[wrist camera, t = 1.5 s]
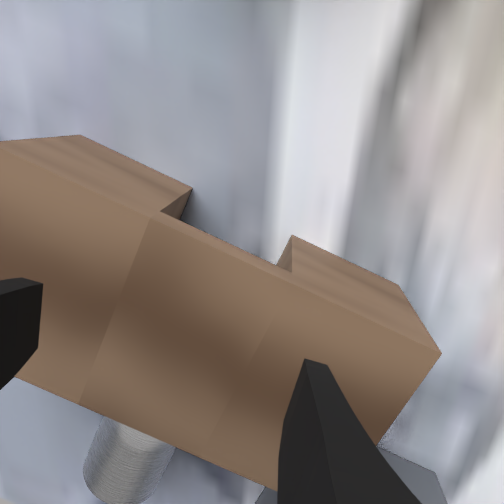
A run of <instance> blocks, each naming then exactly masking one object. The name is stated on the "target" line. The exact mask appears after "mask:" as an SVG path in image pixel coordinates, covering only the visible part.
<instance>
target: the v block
mask: <svg viewBox="0 0 504 504" xmlns="http://www.w3.org/2000/svg"><path fill="white" fill-rule="evenodd" d="M377 448H378V450H379V451H380V453H381V454H382V455H383V457H384V458H385V459H386V461H387V462H388V463H389V465H390V466H391V467H392V469H393V470H394V471H395V472H396V473H397V475H398V476H399V477H400V478H401V480H402V481H403V482H404V483H405V485H406V486H407V487H408V488H409V489H410V491H411V492H412V493H413V494H414V495H415V496H416V497H417V499H418V500H419V501H420V502H421V503H422V504H447V501H446V499H445V496H444V494H443V491H442V489H441V486H440V484H439V481H438V479H437V476H436V474H435V473H434V472H432V471H430V470H428V469H425V468H423V467H421V466H419V465H417V464H414V463H412V462H410V461H408V460H405V459H403V458H401V457H399V456H396V455H394V454H392V453H390V452H388V451H385V450H383V449H381V448H379V447H377ZM255 504H277V491H275V490H272V489H270V488H268V487H265V489H264V490H263V492H262V493H261V495H260V497H259V498H258V500H257V501H256V503H255Z"/></svg>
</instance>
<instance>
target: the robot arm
mask: <svg viewBox="0 0 504 504" xmlns="http://www.w3.org/2000/svg"><path fill="white" fill-rule="evenodd" d="M42 295H43V283H40V282H37V281H33V280H30V279H26V278H23V277H21V278H11V279H5V280H0V390H1V389H2V388H3V387H4V386H5V385H6V384H7V383H8V382H9V381H10V380H11V379H12V378H13V377H14V376H15V375H16V374H17V373H18V372H19V371H20V369H21V368H22V367H23V366H24V365H25V364H26V362H27V361H28V360H29V359H30V357H31V356H32V355H33V354H34V352H35V351H36V350H37V349H38V343H39V331H40V319H41V307H42ZM277 504H422V503H421V502H420V501H419V500H418V499H417V497H416V496H415V495H414V494H413V493H412V492H411V491H410V489H409V488H408V487H407V486H406V485H405V483H404V482H403V481H402V480H401V478H400V477H399V476H398V475H397V473H396V472H395V471H394V470H393V469H392V467H391V466H390V465H389V463H388V462H387V461H386V459H385V458H384V457H383V455H382V454H381V453H380V451H379V450H378V448H377V447H376V445H375V444H374V443H373V441H372V440H371V438H370V437H369V435H368V434H367V432H366V431H365V429H364V428H363V426H362V425H361V423H360V422H359V420H358V418H357V417H356V415H355V413H354V412H353V410H352V408H351V407H350V405H349V403H348V402H347V400H346V398H345V396H344V394H343V393H342V391H341V389H340V387H339V385H338V383H337V382H336V380H335V378H334V376H333V374H332V372H331V371H330V369H329V367H328V365H326V364H323V363H319V362H316V361H312V360H309V359H305V358H304V361H303V364H302V367H301V370H300V373H299V376H298V379H297V382H296V385H295V388H294V391H293V394H292V397H291V400H290V403H289V406H288V409H287V412H286V415H285V418H284V421H283V428H282V434H281V441H280V449H279V456H278V490H277Z"/></svg>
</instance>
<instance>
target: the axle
mask: <svg viewBox="0 0 504 504" xmlns="http://www.w3.org/2000/svg"><path fill="white" fill-rule="evenodd" d="M175 450H176V447H174V446H172V445H170V444H167V443H165V442H163V441H160V440H158V439H156V438H154V437H151V436H149V435H147V434H144V433H142V432H140V431H138V430H135V429H133V428H131V427H128V426H126V425H124V424H122V423H119V422H117V421H115V420H112V419H110V418H108V417H106V416H103V418H102V421H101V423H100V425H99V428H98V430H97V432H96V435H95V437H94V440H93V442H92V444H91V447H90V449H89V452H88V454H87V456H86V459H85V462H84V466H83V474H84V479H85V482H86V484H87V486H88V488H89V489H90V491H91V492H92V493H93V494H94V495H95V496H96V497H97V498H99V499H100V500H102V501H104V502H106V503H108V504H139V503H141V502H143V501H145V500H146V499H147V498H149V497H150V496H151V495H152V493H153V492H154V490H155V489H156V487H157V485H158V483H159V481H160V479H161V477H162V475H163V473H164V471H165V469H166V467H167V465H168V463H169V461H170V459H171V457H172V456H173V454H174V452H175Z"/></svg>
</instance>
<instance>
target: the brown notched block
mask: <svg viewBox="0 0 504 504" xmlns="http://www.w3.org/2000/svg"><path fill="white" fill-rule="evenodd" d="M191 190H192V187H190V186H188V185H185V184H183V183H181V182H179V181H177V180H175V179H173V178H171V177H168V176H166V175H164V174H162V173H160V172H158V171H156V170H154V169H152V168H149V167H147V166H145V165H143V164H141V163H139V162H137V161H135V160H132V159H130V158H128V157H126V156H124V155H122V154H120V153H118V152H115V151H113V150H111V149H109V148H107V147H105V146H103V145H101V144H99V143H96V142H94V141H92V140H90V139H88V138H86V137H84V136H82V135H72V136H60V137H48V138H35V139H23V140H11V141H0V280H5V279H11V278H21V277H23V278H26V279H30V280H33V281H37V282H40V283H43V295H42V307H41V319H40V331H39V343H38V349H37V350H36V351H35V352H34V354H33V355H32V356H31V357H30V359H29V360H28V361H27V362H26V364H25V365H24V366H23V367H22V368H21V369H20V371H19V372H18V373H17V374H16V375H15V376H14V377H16V378H19V379H21V380H23V381H26V382H28V383H30V384H32V385H35V386H37V387H39V388H42V389H44V390H46V391H48V392H51V393H53V394H55V395H58V396H60V397H62V398H64V399H67V400H69V401H71V402H74V403H76V404H78V405H80V406H83V407H85V408H87V409H90V410H92V411H94V412H96V413H99V414H101V415H103V416H106V417H108V418H110V419H112V420H115V421H117V422H119V423H122V424H124V425H126V426H128V427H131V428H133V429H135V430H138V431H140V432H142V433H144V434H147V435H149V436H151V437H154V438H156V439H158V440H160V441H163V442H165V443H167V444H170V445H172V446H174V447H176V448H179V449H181V450H183V451H186V452H188V453H190V454H192V455H195V456H197V457H199V458H202V459H204V460H206V461H208V462H211V463H213V464H215V465H218V466H220V467H222V468H224V469H227V470H229V471H231V472H234V473H236V474H238V475H240V476H243V477H245V478H247V479H250V480H252V481H254V482H256V483H259V484H261V485H263V486H266V487H268V488H270V489H272V490H275V491H277V490H278V456H279V449H280V441H281V434H282V428H283V421H284V418H285V415H286V412H287V409H288V406H289V403H290V400H291V397H292V394H293V391H294V388H295V385H296V382H297V379H298V376H299V373H300V370H301V367H302V364H303V361H304V358H305V359H309V360H312V361H316V362H319V363H323V364H326V365H328V367H329V369H330V371H331V372H332V374H333V376H334V378H335V380H336V382H337V383H338V385H339V387H340V389H341V391H342V393H343V394H344V396H345V398H346V400H347V402H348V403H349V405H350V407H351V408H352V410H353V412H354V413H355V415H356V417H357V418H358V420H359V422H360V423H361V425H362V426H363V428H364V429H365V431H366V432H367V434H368V435H369V437H370V438H371V440H372V441H373V443H374V444H375V445H377V444H378V442H379V441H380V440H381V438H382V437H383V435H384V434H385V433H386V431H387V430H388V428H389V427H390V426H391V424H392V423H393V421H394V420H395V419H396V417H397V416H398V414H399V413H400V412H401V410H402V409H403V407H404V406H405V405H406V403H407V402H408V400H409V399H410V398H411V396H412V395H413V393H414V392H415V391H416V389H417V388H418V386H419V385H420V384H421V382H422V381H423V379H424V378H425V377H426V375H427V374H428V372H429V371H430V370H431V368H432V367H433V365H434V364H435V363H436V361H437V360H438V359H439V357H440V356H441V354H442V353H441V351H440V350H439V348H438V347H437V345H436V343H435V342H434V340H433V339H432V337H431V336H430V334H429V332H428V331H427V329H426V328H425V326H424V325H423V323H422V321H421V320H420V318H419V317H418V315H417V314H416V312H415V310H414V309H413V307H412V306H411V304H410V303H409V301H408V299H407V298H406V296H405V295H404V293H403V292H402V290H401V288H400V287H399V285H397V284H395V283H393V282H391V281H389V280H387V279H385V278H383V277H380V276H378V275H376V274H374V273H372V272H370V271H368V270H366V269H363V268H361V267H359V266H357V265H355V264H353V263H351V262H349V261H346V260H344V259H342V258H340V257H338V256H336V255H334V254H332V253H330V252H327V251H325V250H323V249H321V248H319V247H317V246H315V245H313V244H310V243H308V242H306V241H304V240H302V239H300V238H298V237H296V236H294V235H292V236H291V237H290V239H289V241H288V243H287V245H286V247H285V249H284V251H283V253H282V255H281V257H280V259H279V261H278V263H277V265H274V264H272V263H270V262H267V261H265V260H263V259H261V258H259V257H257V256H255V255H252V254H250V253H248V252H246V251H244V250H242V249H240V248H238V247H235V246H233V245H231V244H229V243H227V242H225V241H223V240H220V239H218V238H216V237H214V236H212V235H210V234H208V233H205V232H203V231H201V230H199V229H197V228H195V227H193V226H190V225H188V224H186V223H184V222H182V221H180V220H179V219H180V217H181V215H182V212H183V210H184V207H185V205H186V202H187V200H188V198H189V195H190V193H191Z"/></svg>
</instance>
